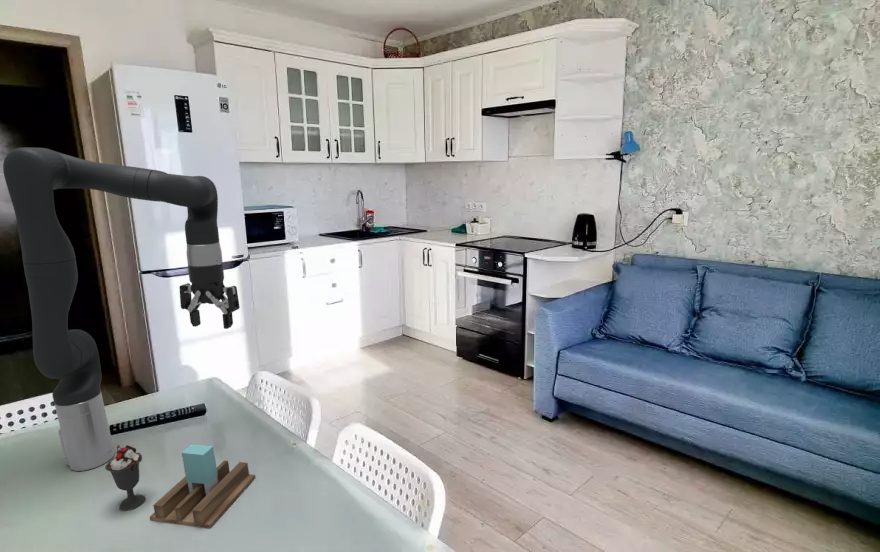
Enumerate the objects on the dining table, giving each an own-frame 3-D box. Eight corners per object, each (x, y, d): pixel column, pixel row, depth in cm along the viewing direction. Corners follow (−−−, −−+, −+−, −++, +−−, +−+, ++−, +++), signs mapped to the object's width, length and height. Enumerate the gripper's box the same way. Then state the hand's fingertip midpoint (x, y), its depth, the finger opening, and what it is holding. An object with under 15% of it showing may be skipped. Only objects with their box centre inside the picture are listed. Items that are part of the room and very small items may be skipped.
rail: (150, 520, 101) (146, 504, 100) (201, 472, 116) (199, 457, 115) (210, 528, 98) (207, 512, 97) (255, 477, 113) (253, 463, 112)
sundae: (124, 517, 102) (110, 453, 98) (108, 506, 105) (94, 444, 102) (156, 498, 107) (144, 437, 104) (140, 489, 111) (127, 429, 107)
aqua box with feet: (189, 498, 106) (181, 452, 103) (199, 488, 109) (191, 444, 106) (210, 500, 105) (203, 455, 102) (220, 490, 108) (213, 446, 105)
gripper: (167, 263, 114) (175, 329, 118) (222, 266, 112) (229, 333, 115) (189, 257, 122) (196, 320, 125) (241, 259, 119) (247, 323, 123)
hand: (212, 326), depth 120 cm, fingers open, 8 cm apart
